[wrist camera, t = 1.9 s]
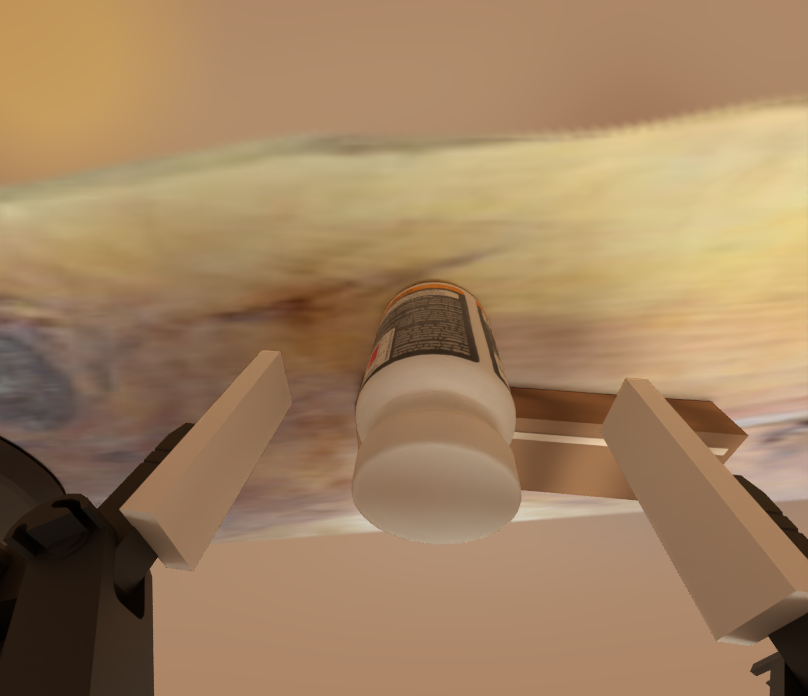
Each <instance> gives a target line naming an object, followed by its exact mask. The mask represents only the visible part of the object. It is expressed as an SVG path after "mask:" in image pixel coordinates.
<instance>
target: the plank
mask: <svg viewBox="0 0 808 696" xmlns="http://www.w3.org/2000/svg"><path fill="white" fill-rule="evenodd" d="M363 380H364V378H363ZM362 383H363V381H362ZM361 386H362V384H361ZM360 390H361V387H360ZM510 391H511V394H512V397H513V400H514V404H515V410H516V424H515V431H514V435H513V438H512V441H511V443H510V445H509V446H510V448H511V450H512V452H513V455H514V459H515V464H516V469H517V473H518V477H519V482H520V487H521V490H528V491H539V492H550V493H561V494H572V495H583V496H595V497H606V498H617V499H628V500H637V498H636V496H635V494H634V492H633V491H632V489H631V487H630V485H629V483H628V482H627V480H626V478H625V476H624V474H623V473H622V471H621V469H620V467H619V465H618V464H617V462H616V460H615V458H614V456H613V455H612V453H611V451H610V449H609V447H608V446H607V444H606V442H605V440H604V438H603V437H602V435H601V433H600V431H599V430H600V428H601V426H602V424H603V422H604V420H605V418H606V416H607V414H608V412H609V410H610V408H611V406H612V404H613V402H614V400H615V398H616V396H617V395H608V394H594V393H580V392H565V391H551V390H537V389H523V388H510ZM359 393H360V391H359ZM358 396H359V394H358ZM357 400H358V397H357ZM357 400H356V403H355V414H356V405H357ZM665 400H666V401H667V402H668V403H669V404H670V405H671V406H672V407H673V409H674V410H675V411H676V412H677V413H678V414H679V415H680V416H681V418H682V419H683V420H684V421H685V422H686V423H687V424H688V425H689V427H690V428H691V429H692V430H693V431H694V432H695V433H696V434H697V436H698V437H699V438H700V439H701V440H702V441H703V442H704V443H705V445H706V446H707V447H708V448H709V449H710V450H711V451H712V452H713V454H714V455H715V456H716V457H717V458H718V459H719V460H720V461H721V463H722V464H724V463H725V462H726V461H727V460H728V459H729V457H730V456H731V455H732V454H733V453H734V452H735V451H736V449H737V448H738V447H739V446H740V445H741V444H742V442H743V441H744V440H745V439H746V438H747V437H748V436H749V435H747V434H746V433H745V432H744V431H743V430H742V429H741V428H740V427H739V426H738V425H737V424H735V423H734V422H733V421H732V420H731V419H730V418H729V417H728V416H727V415H726V414H725V413H723V412H722V411H721V410H720V409H719V408H718V407H717V406H716V405H715V404H714V403H713V402H707V401H692V400H678V399H665ZM356 427H357V425H356ZM357 439H358V451H359V448H360V446H361V444H362V442H361V439H360V437H359V434H358V430H357Z"/></svg>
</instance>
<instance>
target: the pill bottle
mask: <svg viewBox="0 0 808 696" xmlns="http://www.w3.org/2000/svg"><path fill="white" fill-rule="evenodd" d="M515 424H516V410H515V404H514V400H513V397H512V394H511V391H510V388H509V385H508V382H507V379H506V376H505V373H504V370H503V367H502V364H501V361H500V358H499V354H498V351H497V347H496V343H495V340H494V338H493V335H492V332H491V328H490V325H489V322H488V319H487V317H486V315H485V313H484V310H483V309H482V307H481V306H480V304H479V303H478V302H477V301H476V299H475V298H474V297H473V296H472V295H470V294H469V293H468V292H466V291H465V290H463V289H461V288H459V287H457V286H454V285H451V284H447V283H440V282H428V283H421V284H417V285H415V286H412V287H410V288H408V289H406V290H404V291H402V292H401V293H399V294H398V295H397V296H396V297H395V298H394V299H393V300H392V301H391V302H390V303H389V305H388V306H387V308H386V310H385V312H384V314H383V316H382V319H381V322H380V325H379V328H378V332H377V335H376V339H375V342H374V346H373V350H372V354H371V357H370V360H369V364H368V367H367V370H366V374H365V377H364V380H363V383H362V386H361V390H360V393H359V396H358V400H357V405H356V425H357V430H358V434H359V437H360V439H361V442H362V444H361V446H360V448H359V451H358V454H357V459H356V463H355V469H354V474H353V480H352V495H353V500H354V503H355V505H356V507H357V508H358V510H359V511H360V513H361V514H362V515H363V516H364V517H365V518H366V519H367V520H368V521H369V522H370V523H372V524H373V525H374V526H376V527H377V528H379V529H381V530H383V531H385V532H387V533H389V534H391V535H393V536H396V537H399V538H402V539H405V540H411V541H415V542H420V543H428V544H458V543H465V542H470V541H474V540H477V539H480V538H483V537H486V536H489V535H491V534H493V533H496V532H497V531H499V530H500V529H502V528H503V527H504V526H506V525H507V524H508V523H509V522H510V521H511V520H512V519H513V518H514V516H515V515H516V513H517V511H518V509H519V506H520V503H521V487H520V482H519V477H518V473H517V469H516V464H515V459H514V455H513V452H512V450H511V448H510V446H509V445H510V443H511V441H512V438H513V435H514V431H515Z"/></svg>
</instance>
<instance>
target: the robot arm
mask: <svg viewBox="0 0 808 696" xmlns="http://www.w3.org/2000/svg"><path fill="white" fill-rule="evenodd" d="M291 405H292V400H291V396H290V391H289V387H288V382H287V378H286V373H285V369H284V364H283V360H282V355H281V351H269V350H262V351H261V352H260V353H259V354H258V355H257V356H256V357H255V358H254V360H253V361H252V362H251V363H250V364H249V365H248V366H247V367H246V368H245V370H244V371H243V372H242V373H241V374H240V375H239V376H238V377H237V379H236V380H235V381H234V382H233V383H232V384H231V385H230V386H229V387H228V389H227V390H226V391H225V392H224V393H223V394H222V395H221V396H220V397H219V399H218V400H217V401H216V402H215V403H214V404H213V405H212V406H211V408H210V409H209V410H208V411H207V412H206V413H205V414H204V415H203V416H202V418H201V419H200V420H199V421H198V422H197V423H196V424H192V423H185V424H184V425H182V426H181V427H179V428H178V429H176V430H175V431H173V432H172V433H170V434H169V435H168V436H167V437H166V438H165V439H164V440H163V441H162V442H161V443H160V444H159V445H158V446H157V447H156V448H155V451H152V452H151V453H150V454H149V455H148V456H147V458H146V459H145V460H144V463H141V464H140V465H139V466H138V467H137V468H136V469H135V470H134V471H133V472H132V473H131V474H130V475H129V476H128V477H127V478H126V479H125V481H124V482H123V483H122V484H121V485H120V486H119V487H118V488H117V489H116V490H115V491H114V492H113V493H112V494H111V495H110V496H109V497H108V498H107V499H106V500H105V501H104V502H103V503H102V505H101V506H100V507H99V508H98V509H96V507H95V506H94V505H93V504H92V503H91V502H90V501H89V499H88V498H86V497H85V496H83V495H81V494H66V495H63V492H62V490H61V488H60V487H59V485H58V484H57V483H56V481H55V480H54V479H53V478H52V477H51V476H50V475H49V474H48V473H47V472H46V471H45V470H44V469H43V468H42V467H40V466H39V465H38V464H37V463H36V462H34V461H33V460H32V459H30V458H29V457H28V456H26V455H25V454H23V453H22V452H20V451H19V450H17V449H16V448H14V447H12V446H11V445H9V444H7V443H6V442H4V441H2V440H0V696H154V667H153V666H154V665H153V604H152V603H153V601H152V600H153V599H152V575H151V572H150V568H151V566H152V565H153V563H154V562H155V560H156V559H157V558H159V559H160V561H161V562H162V563H163V564H164V566H165V567H166V568H172V569H180V570H187V571H194V569H195V567H196V565H197V564H198V562H199V560H200V559H201V557H202V555H203V554H204V552H205V550H206V549H207V547H208V545H209V543H210V542H211V540H212V538H213V537H214V535H215V533H216V532H217V530H218V528H219V527H220V525H221V523H222V521H223V520H224V518H225V516H226V515H227V513H228V511H229V510H230V508H231V506H232V504H233V503H234V501H235V499H236V498H237V496H238V494H239V493H240V491H241V489H242V488H243V486H244V484H245V482H246V481H247V479H248V477H249V476H250V474H251V472H252V471H253V469H254V467H255V466H256V464H257V462H258V460H259V459H260V457H261V455H262V454H263V452H264V450H265V449H266V447H267V445H268V443H269V442H270V440H271V438H272V437H273V435H274V433H275V432H276V430H277V428H278V427H279V425H280V423H281V421H282V420H283V418H284V416H285V415H286V413H287V411H288V410H289V408H290V406H291ZM599 431H600V433H601V435H602V437H603V438H604V440H605V442H606V444H607V446H608V447H609V449H610V451H611V453H612V455H613V456H614V458H615V460H616V462H617V464H618V465H619V467H620V469H621V471H622V473H623V474H624V476H625V478H626V480H627V482H628V483H629V485H630V487H631V489H632V491H633V492H634V494H635V496H636V498H637V500H638V501H639V503H640V505H641V507H642V509H643V510H644V512H645V514H646V516H647V518H648V519H649V521H650V523H651V525H652V527H653V528H654V530H655V532H656V534H657V535H658V537H659V539H660V541H661V542H662V544H663V546H664V548H665V550H666V551H667V554H668V555H669V557H670V559H671V561H672V562H673V564H674V566H675V568H676V570H677V571H678V573H679V575H680V577H681V579H682V580H683V582H684V584H685V586H686V587H687V589H688V591H689V593H690V595H691V597H692V598H693V600H694V602H695V604H696V606H697V607H698V609H699V611H700V613H701V615H702V616H703V618H704V620H705V622H706V623H707V625H708V627H709V629H710V631H711V633H712V634H713V636H714V638H715V640H716V641H719V642H726V643H734V644H741V645H749V646H752V645H753V644H755V643H757V642H759V641H761V640H762V639H764V638H766V637H769V638H770V639H771V641H772V642H773V644H774V645H775V647H776V648H777V650H778V652H776V653H774V654H772V655H770V656H768V657H766V658H764V659H763V660H761V661H758V662H757V663H754V664H753V666H752V668H751V671H750V672H752V673H753V674H754V675H756V676H758V675H760V674H762V673H765V672H767V671H769V670H771V674H770V680H769V681H767V682H766V684H768V685H769V686H770V696H808V539H807V538H806V537H805V536H804V535H803V534H802V533H799V532H798V528H797V527H796V526H795V525H794V524H793V523H792V522H791V521H790V520H789V519H788V518H787V517H786V516H783V514H782V511H781V510H780V509H779V508H778V507H777V506H776V505H775V504H774V503H773V502H772V500H771V499H770V498H769V497H768V496H767V495H766V494H765V493H764V492H763V491H761V490H760V489H759V488H757V487H756V486H754V485H753V484H752V483H750V482H749V481H748V480H746V479H745V478H744V477H742V476H741V475H732V474H731V473H730V472H729V470H728V469H727V468H726V467H725V466H724V465H723V464H722V463H721V461H720V460H719V459H718V458H717V457H716V456H715V455H714V454H713V452H712V451H711V450H710V449H709V448H708V447H707V446H706V445H705V443H704V442H703V441H702V440H701V439H700V438H699V437H698V436H697V434H696V433H695V432H694V431H693V430H692V429H691V428H690V427H689V425H688V424H687V423H686V422H685V421H684V420H683V419H682V418H681V416H680V415H679V414H678V413H677V412H676V411H675V410H674V409H673V407H672V406H671V405H670V404H669V403H668V402H667V401H666V400H665V398H664V397H663V396H662V395H661V394H660V393H659V392H658V391H657V389H656V388H655V387H654V386H653V385H652V384H651V383H650V382H649V380H647V379H634V378H625V380H624V382H623V384H622V386H621V388H620V390H619V392H618V394H617V396H616V398H615V400H614V402H613V404H612V406H611V408H610V410H609V412H608V414H607V416H606V418H605V420H604V422H603V424H602V426H601V428H600V430H599Z"/></svg>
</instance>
